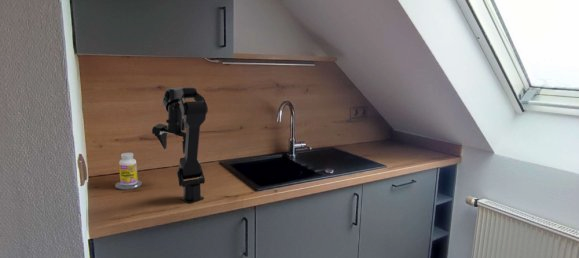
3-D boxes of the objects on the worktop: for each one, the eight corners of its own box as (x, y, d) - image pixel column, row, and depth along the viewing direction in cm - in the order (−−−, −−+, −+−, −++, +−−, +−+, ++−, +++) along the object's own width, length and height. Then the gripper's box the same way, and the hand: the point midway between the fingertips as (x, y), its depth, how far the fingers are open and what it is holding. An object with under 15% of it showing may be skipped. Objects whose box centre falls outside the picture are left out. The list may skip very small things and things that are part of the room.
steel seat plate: (146, 185, 155) (145, 183, 155) (122, 191, 148) (122, 189, 148) (134, 180, 162) (134, 178, 162) (111, 186, 154) (111, 183, 154)
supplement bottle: (118, 186, 151) (116, 156, 148) (122, 181, 157) (120, 152, 155) (136, 185, 152) (134, 155, 150) (139, 180, 159) (137, 151, 156)
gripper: (204, 116, 158) (203, 148, 164) (166, 107, 162) (165, 139, 168) (192, 124, 148) (190, 158, 154) (150, 114, 152) (151, 149, 158)
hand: (174, 151), depth 159 cm, fingers open, 9 cm apart
